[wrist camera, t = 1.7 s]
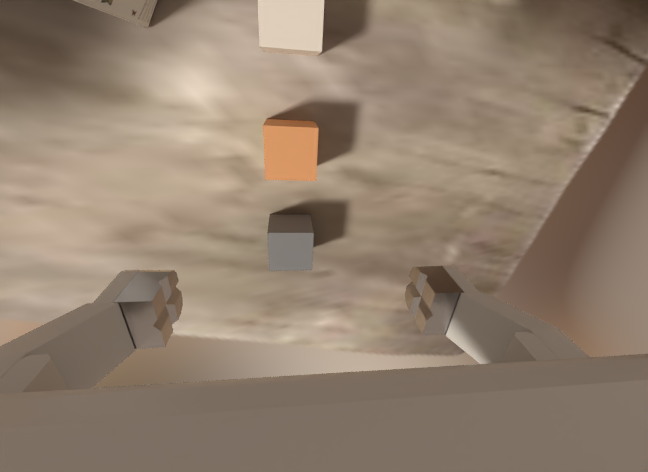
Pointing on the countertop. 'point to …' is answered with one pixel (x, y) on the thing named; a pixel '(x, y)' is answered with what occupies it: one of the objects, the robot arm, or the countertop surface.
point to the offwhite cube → (291, 26)
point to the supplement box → (125, 9)
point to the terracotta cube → (290, 149)
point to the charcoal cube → (290, 242)
